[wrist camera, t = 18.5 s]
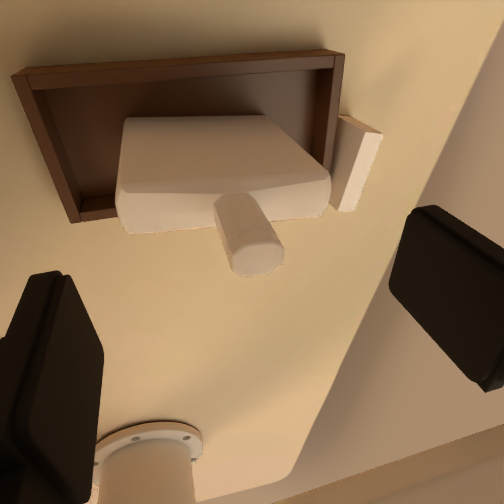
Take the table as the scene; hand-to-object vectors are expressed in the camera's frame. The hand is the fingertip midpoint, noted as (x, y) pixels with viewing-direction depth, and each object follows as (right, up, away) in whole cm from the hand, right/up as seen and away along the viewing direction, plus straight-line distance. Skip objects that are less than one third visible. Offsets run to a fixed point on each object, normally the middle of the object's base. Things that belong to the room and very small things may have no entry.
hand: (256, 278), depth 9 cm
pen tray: (-3, +8, +10) cm, 13 cm away
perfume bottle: (-3, +8, +10) cm, 13 cm away
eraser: (+5, +7, +13) cm, 16 cm away
